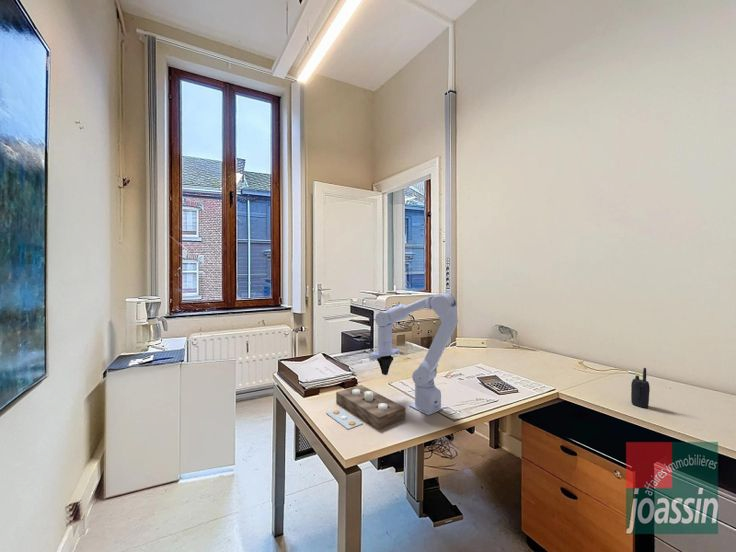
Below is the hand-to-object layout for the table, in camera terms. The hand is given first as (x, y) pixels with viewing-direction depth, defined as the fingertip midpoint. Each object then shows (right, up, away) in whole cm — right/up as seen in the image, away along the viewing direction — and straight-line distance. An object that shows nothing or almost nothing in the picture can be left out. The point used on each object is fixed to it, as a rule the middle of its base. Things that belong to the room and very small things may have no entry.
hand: (384, 374), depth 129 cm
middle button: (-6, -7, -11) cm, 15 cm away
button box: (-6, -10, -11) cm, 16 cm away
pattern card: (-15, -10, -18) cm, 25 cm away
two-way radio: (+97, -10, -7) cm, 97 cm away
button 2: (-2, -9, -17) cm, 20 cm away
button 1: (-11, -9, -5) cm, 15 cm away
